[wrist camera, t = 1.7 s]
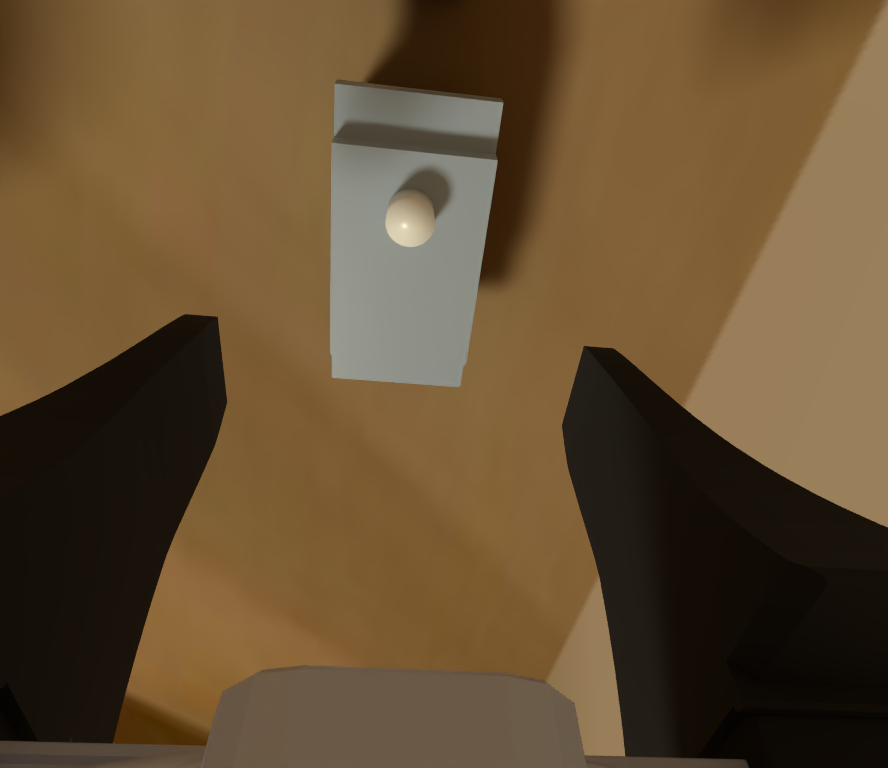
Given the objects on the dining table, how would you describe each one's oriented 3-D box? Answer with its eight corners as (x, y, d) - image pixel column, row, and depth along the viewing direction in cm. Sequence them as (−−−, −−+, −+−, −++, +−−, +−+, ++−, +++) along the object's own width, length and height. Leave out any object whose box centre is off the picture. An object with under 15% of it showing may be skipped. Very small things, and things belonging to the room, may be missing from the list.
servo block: (343, 322, 22) (326, 404, 19) (348, 59, 18) (327, 95, 14) (455, 331, 23) (462, 413, 19) (491, 76, 18) (509, 115, 14)
